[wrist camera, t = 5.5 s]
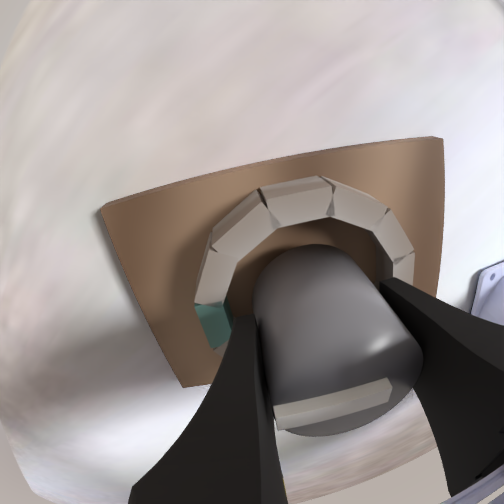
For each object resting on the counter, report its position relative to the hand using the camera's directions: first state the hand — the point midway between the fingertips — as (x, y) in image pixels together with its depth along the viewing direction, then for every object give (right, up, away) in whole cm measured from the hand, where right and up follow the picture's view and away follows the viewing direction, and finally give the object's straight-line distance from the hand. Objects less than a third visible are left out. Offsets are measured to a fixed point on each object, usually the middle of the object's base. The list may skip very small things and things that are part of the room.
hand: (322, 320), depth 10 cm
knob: (0, +1, +2) cm, 2 cm away
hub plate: (0, +1, +3) cm, 3 cm away
